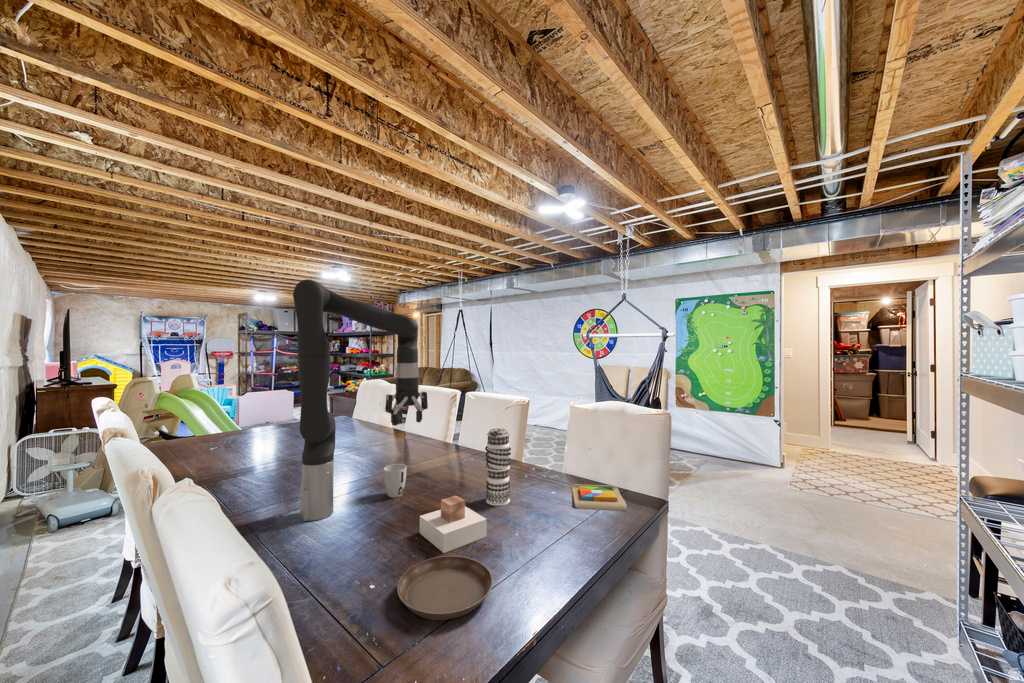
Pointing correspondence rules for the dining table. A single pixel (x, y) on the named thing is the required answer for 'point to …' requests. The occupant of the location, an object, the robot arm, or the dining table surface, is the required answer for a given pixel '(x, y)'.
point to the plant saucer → (444, 587)
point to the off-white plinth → (452, 529)
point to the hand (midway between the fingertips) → (407, 423)
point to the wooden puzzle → (598, 497)
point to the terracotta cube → (452, 509)
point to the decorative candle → (498, 467)
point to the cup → (395, 479)
